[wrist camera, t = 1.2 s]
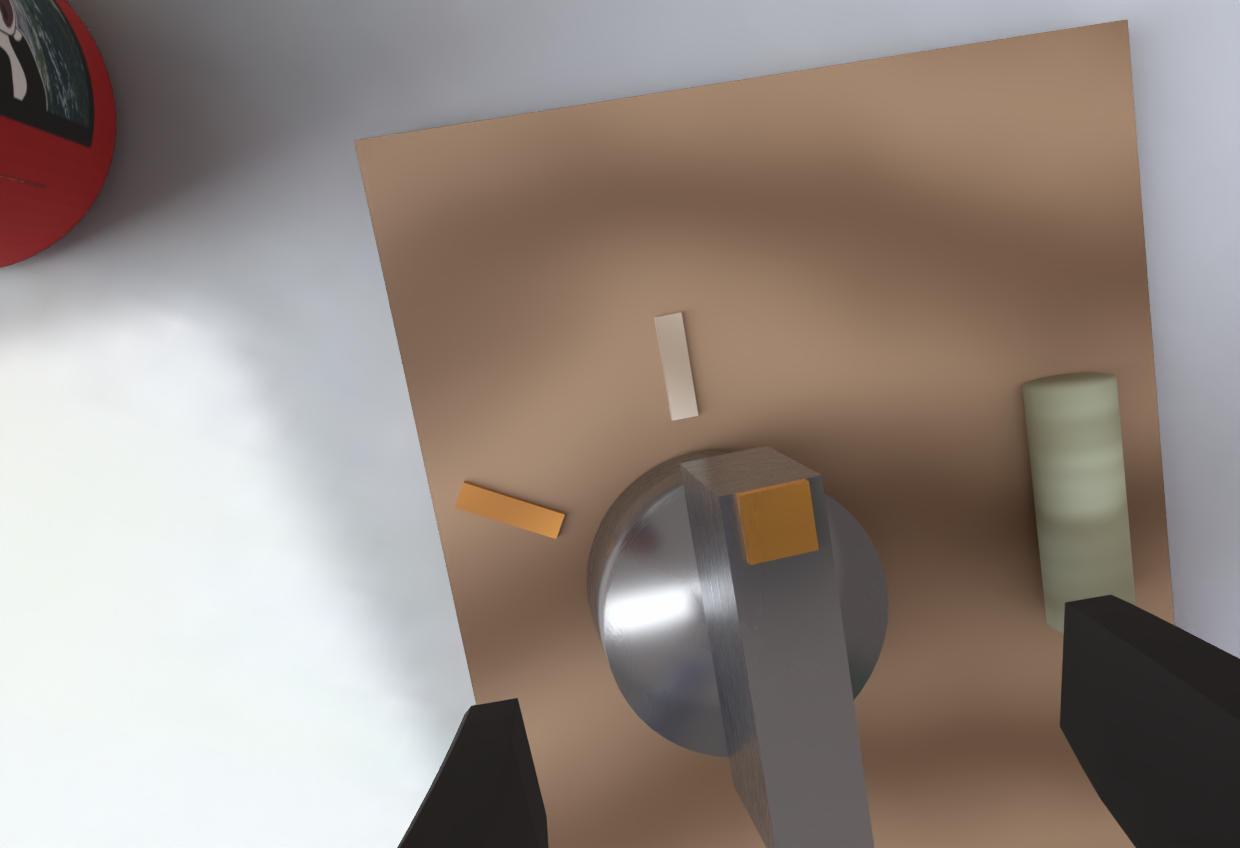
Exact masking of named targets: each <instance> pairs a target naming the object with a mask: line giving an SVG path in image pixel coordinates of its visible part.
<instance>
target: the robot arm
mask: <svg viewBox="0 0 1240 848" xmlns="http://www.w3.org/2000/svg"><path fill="white" fill-rule="evenodd" d="M1060 728H1061V730H1062V731H1063V733H1064V735H1065V737H1066V739H1067V741H1068V743H1069V744H1070V746H1071V748H1072V750H1073V752H1074V754H1075V755H1076V757H1077V759H1078V761H1079V763H1080V765H1081V767H1082V768H1083V770H1084V772H1085V773H1086V775H1087V777H1088V779H1089V780H1090V782H1091V784H1092V786H1093V787H1094V789H1095V791H1096V792H1097V794H1098V796H1099V798H1100V799H1101V800H1102V802H1103V803H1104V805H1105V806H1106V807H1107V809H1108V810H1109V812H1110V813H1111V814H1112V816H1113V817H1114V819H1115V820H1116V821H1117V823H1118V824H1119V825H1120V827H1121V828H1122V830H1123V831H1124V832H1125V834H1126V835H1127V836H1128V838H1129V839H1130V841H1131V842H1132V843H1133V845H1134V846H1135V847H1136V848H1240V659H1239V658H1237V657H1235V656H1233V655H1231V654H1229V653H1227V652H1225V651H1223V650H1221V649H1219V648H1217V647H1215V646H1213V645H1211V644H1209V643H1207V642H1206V641H1204V640H1202V639H1200V638H1198V637H1196V636H1194V635H1192V634H1190V633H1188V632H1186V631H1184V630H1182V629H1180V628H1178V627H1176V626H1175V625H1173V624H1171V623H1169V622H1167V621H1165V620H1163V619H1161V618H1159V617H1157V616H1155V615H1153V614H1151V613H1149V612H1147V611H1145V610H1143V609H1141V608H1139V607H1137V606H1135V605H1133V604H1131V603H1129V602H1127V601H1124V600H1122V599H1120V598H1118V597H1116V596H1113V595H1105V596H1099V597H1094V598H1088V599H1082V600H1076V601H1071V602H1065V612H1064V636H1063V660H1062V684H1061V707H1060ZM397 848H549V846H548V829H547V815H546V811H545V807H544V803H543V799H542V795H541V791H540V787H539V783H538V779H537V775H536V770H535V766H534V762H533V758H532V754H531V750H530V746H529V742H528V738H527V734H526V730H525V725H524V721H523V717H522V713H521V709H520V705H519V701H518V698H514V699H508V700H502V701H497V702H491V703H485V704H479V705H474V706H471V707H470V708H469V710H468V711H467V712H466V713H465V715H464V717H463V719H462V722H461V724H460V726H459V728H458V731H457V733H456V735H455V737H454V740H453V742H452V744H451V746H450V748H449V750H448V752H447V755H446V757H445V759H444V761H443V763H442V765H441V767H440V769H439V771H438V773H437V775H436V777H435V779H434V781H433V783H432V785H431V787H430V789H429V791H428V793H427V795H426V796H425V798H424V800H423V802H422V804H421V806H420V808H419V809H418V811H417V813H416V815H415V817H414V819H413V820H412V822H411V824H410V826H409V828H408V830H407V832H406V833H405V835H404V837H403V839H402V840H401V842H400V844H399V846H398V847H397Z"/></svg>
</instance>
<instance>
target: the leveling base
mask: <svg viewBox="0 0 1240 848" xmlns="http://www.w3.org/2000/svg"><path fill="white" fill-rule="evenodd" d="M354 142H355V146H356V151H357V156H358V160H359V165H360V170H361V174H362V179H363V183H364V188H365V193H366V197H367V202H368V207H369V211H370V216H371V220H372V225H373V230H374V234H375V239H376V243H377V248H378V253H379V257H380V262H381V267H382V271H383V276H384V280H385V285H386V290H387V294H388V299H389V304H390V308H391V313H392V317H393V322H394V327H395V331H396V336H397V341H398V345H399V350H400V354H401V359H402V364H403V368H404V373H405V378H406V382H407V387H408V391H409V396H410V401H411V405H412V410H413V415H414V419H415V424H416V428H417V433H418V438H419V442H420V447H421V451H422V456H423V461H424V465H425V470H426V475H427V479H428V484H429V488H430V493H431V498H432V502H433V507H434V512H435V516H436V521H437V525H438V530H439V535H440V539H441V544H442V549H443V553H444V558H445V562H446V567H447V572H448V576H449V581H450V586H451V590H452V595H453V599H454V604H455V609H456V613H457V618H458V623H459V627H460V632H461V636H462V641H463V646H464V650H465V655H466V659H467V664H468V669H469V673H470V678H471V683H472V687H473V692H474V696H475V701H476V705H479V704H485V703H491V702H497V701H502V700H508V699H514V698H518V701H519V705H520V709H521V713H522V717H523V721H524V725H525V730H526V734H527V738H528V742H529V746H530V750H531V754H532V758H533V762H534V766H535V770H536V775H537V779H538V783H539V787H540V791H541V795H542V799H543V803H544V807H545V811H546V815H547V829H548V846H549V848H766V846H765V844H764V842H763V840H762V838H761V837H760V835H759V833H758V831H757V829H756V827H755V825H754V823H753V821H752V819H751V818H750V816H749V814H748V812H747V810H746V808H745V806H744V804H743V802H742V800H741V799H740V797H739V795H738V793H737V791H736V789H735V787H734V784H733V779H732V773H731V767H730V761H729V758H728V757H716V756H711V755H706V754H701V753H697V752H694V751H691V750H689V749H686V748H683V747H681V746H679V745H677V744H675V743H673V742H671V741H669V740H667V739H665V738H664V737H662V736H661V735H660V734H658V733H657V732H655V731H654V730H652V729H651V728H650V727H649V726H648V725H647V724H646V723H645V722H644V721H643V720H642V719H640V718H639V717H638V715H637V714H636V713H635V712H634V710H633V709H632V708H631V707H630V705H629V704H628V703H627V701H626V700H625V698H624V696H623V695H622V693H621V691H620V690H619V688H618V686H617V683H616V681H615V678H614V676H613V674H612V671H611V669H610V666H609V663H608V660H607V658H606V655H605V652H604V649H603V647H602V644H601V641H600V638H599V636H598V633H597V630H596V627H595V625H594V622H593V619H592V615H591V612H590V608H589V604H588V596H587V588H586V581H587V565H588V559H589V553H590V550H591V546H592V543H593V539H594V537H595V534H596V532H597V530H598V527H599V525H600V523H601V521H602V519H603V518H604V516H605V514H606V513H607V511H608V509H609V508H610V507H611V505H612V504H613V503H614V501H615V500H616V499H617V498H618V496H619V495H620V494H621V493H622V492H623V491H624V490H625V489H626V488H627V487H628V486H629V485H630V484H631V483H632V482H634V481H635V480H636V479H637V478H639V477H640V476H641V475H643V474H644V473H645V472H647V471H649V470H650V469H652V468H654V467H656V466H657V465H659V464H661V463H663V462H666V461H668V460H670V459H673V458H675V457H678V456H682V455H685V454H689V453H693V452H700V451H707V450H728V451H736V452H738V451H742V450H747V449H752V448H757V447H762V446H766V445H767V446H769V447H771V448H772V449H774V450H776V451H778V452H780V453H782V454H783V455H785V456H787V457H789V458H791V459H793V460H795V461H796V462H798V463H800V464H802V465H804V466H806V467H808V468H809V469H811V470H813V471H815V472H817V473H819V474H821V475H822V481H823V488H824V493H825V494H826V495H828V496H830V497H831V498H833V499H834V500H836V501H837V502H838V503H839V504H841V505H842V506H843V507H844V508H846V509H847V510H848V511H849V512H850V513H851V514H852V515H853V516H854V517H855V519H856V520H857V521H858V522H859V523H860V524H861V526H862V527H863V528H864V530H865V531H866V533H867V534H868V536H869V537H870V539H871V541H872V543H873V545H874V547H875V548H876V550H877V552H878V555H879V558H880V561H881V563H882V566H883V569H884V573H885V578H886V583H887V589H888V604H889V607H888V623H887V629H886V634H885V639H884V643H883V646H882V649H881V653H880V656H879V659H878V661H877V663H876V665H875V667H874V670H873V672H872V674H871V676H870V678H869V679H868V681H867V682H866V684H865V686H864V687H863V689H862V691H861V692H860V693H859V695H858V696H857V697H856V698H855V700H854V706H855V713H856V720H857V728H858V735H859V742H860V749H861V756H862V763H863V770H864V777H865V784H866V791H867V798H868V805H869V812H870V819H871V826H872V833H873V840H874V847H875V848H1136V847H1135V846H1134V845H1133V843H1132V842H1131V841H1130V839H1129V838H1128V836H1127V835H1126V834H1125V832H1124V831H1123V830H1122V828H1121V827H1120V825H1119V824H1118V823H1117V821H1116V820H1115V819H1114V817H1113V816H1112V814H1111V813H1110V812H1109V810H1108V809H1107V807H1106V806H1105V805H1104V803H1103V802H1102V800H1101V799H1100V798H1099V796H1098V794H1097V792H1096V791H1095V789H1094V787H1093V786H1092V784H1091V782H1090V780H1089V779H1088V777H1087V775H1086V773H1085V772H1084V770H1083V768H1082V767H1081V765H1080V763H1079V761H1078V759H1077V757H1076V755H1075V754H1074V752H1073V750H1072V748H1071V746H1070V744H1069V743H1068V741H1067V739H1066V737H1065V735H1064V733H1063V731H1062V730H1061V728H1060V707H1061V684H1062V660H1063V636H1064V612H1065V602H1071V601H1076V600H1082V599H1088V598H1094V597H1099V596H1105V595H1113V596H1116V597H1118V598H1120V599H1122V600H1124V601H1127V602H1129V603H1131V604H1133V605H1135V606H1137V607H1139V608H1141V609H1143V610H1145V611H1147V612H1149V613H1151V614H1153V615H1155V616H1157V617H1159V618H1161V619H1163V620H1165V621H1167V622H1169V623H1171V624H1173V625H1174V612H1173V599H1172V586H1171V573H1170V561H1169V548H1168V535H1167V522H1166V509H1165V496H1164V484H1163V471H1162V458H1161V445H1160V432H1159V419H1158V406H1157V394H1156V381H1155V368H1154V355H1153V342H1152V329H1151V316H1150V304H1149V291H1148V278H1147V265H1146V252H1145V239H1144V226H1143V214H1142V201H1141V188H1140V175H1139V162H1138V149H1137V136H1136V124H1135V111H1134V98H1133V85H1132V72H1131V59H1130V47H1129V34H1128V21H1127V20H1122V21H1115V22H1109V23H1102V24H1096V25H1090V26H1083V27H1077V28H1070V29H1064V30H1058V31H1051V32H1045V33H1038V34H1032V35H1025V36H1019V37H1013V38H1006V39H1000V40H993V41H987V42H981V43H974V44H968V45H961V46H955V47H949V48H942V49H936V50H929V51H923V52H917V53H910V54H904V55H897V56H891V57H885V58H878V59H872V60H865V61H859V62H853V63H846V64H840V65H833V66H827V67H821V68H814V69H808V70H801V71H795V72H789V73H782V74H776V75H769V76H763V77H757V78H750V79H744V80H737V81H731V82H725V83H718V84H712V85H705V86H699V87H693V88H686V89H680V90H673V91H667V92H661V93H654V94H648V95H641V96H635V97H628V98H622V99H616V100H609V101H603V102H596V103H590V104H584V105H577V106H571V107H564V108H558V109H552V110H545V111H539V112H532V113H526V114H520V115H513V116H507V117H500V118H494V119H488V120H481V121H475V122H468V123H462V124H456V125H449V126H443V127H436V128H430V129H424V130H417V131H411V132H404V133H398V134H392V135H385V136H379V137H372V138H366V139H360V140H354Z"/></svg>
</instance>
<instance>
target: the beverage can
mask: <svg viewBox="0 0 1240 848" xmlns="http://www.w3.org/2000/svg"><path fill="white" fill-rule="evenodd" d="M115 135H116V114H115V103H114V97H113V91H112V87H111V83H110V79H109V75H108V72H107V69H106V67H105V64H104V61H103V59H102V56H101V54H100V52H99V50H98V47H97V45H96V44H95V42H94V40H93V38H92V36H91V35H90V33H89V31H88V30H87V28H86V27H85V25H84V24H83V22H82V21H81V19H80V18H79V17H78V15H77V14H76V13H75V11H74V10H73V9H72V8H71V6H70V5H69V4H68V3H67V2H66V1H65V0H0V268H1V267H5V266H9V265H12V264H14V263H17V262H20V261H23V260H25V259H27V258H29V257H32V256H34V255H36V254H38V253H39V252H41V251H43V250H45V249H46V248H48V247H50V246H51V245H52V244H54V243H55V242H57V241H58V240H60V239H61V238H62V237H63V236H64V235H65V234H67V233H68V232H69V231H70V230H71V229H72V228H73V227H74V226H75V225H76V224H77V223H78V222H79V221H80V220H81V219H82V217H83V216H84V215H85V214H86V212H87V211H88V210H89V208H90V207H91V205H92V204H93V202H94V201H95V199H96V198H97V196H98V194H99V192H100V190H101V188H102V186H103V184H104V181H105V179H106V176H107V174H108V171H109V167H110V164H111V161H112V156H113V151H114V145H115Z"/></svg>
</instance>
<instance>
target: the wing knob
mask: <svg viewBox="0 0 1240 848" xmlns="http://www.w3.org/2000/svg"><path fill="white" fill-rule="evenodd" d="M586 588H587V596H588V604H589V608H590V612H591V615H592V619H593V622H594V625H595V627H596V630H597V633H598V636H599V638H600V641H601V644H602V647H603V649H604V652H605V655H606V658H607V660H608V663H609V666H610V669H611V671H612V674H613V676H614V678H615V681H616V683H617V686H618V688H619V690H620V691H621V693H622V695H623V696H624V698H625V700H626V701H627V703H628V704H629V705H630V707H631V708H632V709H633V710H634V712H635V713H636V714H637V715H638V717H639V718H640V719H642V720H643V721H644V722H645V723H646V724H647V725H648V726H649V727H650V728H651V729H652V730H654V731H655V732H657V733H658V734H660V735H661V736H662V737H664V738H665V739H667V740H669V741H671V742H673V743H675V744H677V745H679V746H681V747H683V748H686V749H689V750H691V751H694V752H697V753H701V754H706V755H711V756H716V757H728V758H729V761H730V767H731V773H732V779H733V784H734V787H735V789H736V791H737V793H738V795H739V797H740V799H741V800H742V802H743V804H744V806H745V808H746V810H747V812H748V814H749V816H750V818H751V819H752V821H753V823H754V825H755V827H756V829H757V831H758V833H759V835H760V837H761V838H762V840H763V842H764V844H765V846H766V848H875V847H874V840H873V833H872V826H871V819H870V812H869V805H868V798H867V791H866V784H865V777H864V770H863V763H862V756H861V749H860V742H859V735H858V728H857V720H856V713H855V706H854V700H855V698H856V697H857V696H858V695H859V693H860V692H861V691H862V689H863V687H864V686H865V684H866V682H867V681H868V679H869V678H870V676H871V674H872V672H873V670H874V667H875V665H876V663H877V661H878V659H879V656H880V653H881V649H882V646H883V643H884V639H885V634H886V629H887V623H888V607H889V604H888V589H887V583H886V578H885V573H884V569H883V566H882V563H881V561H880V558H879V555H878V552H877V550H876V548H875V547H874V545H873V543H872V541H871V539H870V537H869V536H868V534H867V533H866V531H865V530H864V528H863V527H862V526H861V524H860V523H859V522H858V521H857V520H856V519H855V517H854V516H853V515H852V514H851V513H850V512H849V511H848V510H847V509H846V508H844V507H843V506H842V505H841V504H839V503H838V502H837V501H836V500H834V499H833V498H831V497H830V496H828V495H826V494H825V493H824V488H823V481H822V475H821V474H819V473H817V472H815V471H813V470H811V469H809V468H808V467H806V466H804V465H802V464H800V463H798V462H796V461H795V460H793V459H791V458H789V457H787V456H785V455H783V454H782V453H780V452H778V451H776V450H774V449H772V448H771V447H769V446H767V445H766V446H762V447H757V448H752V449H747V450H742V451H738V452H736V451H728V450H707V451H700V452H693V453H689V454H685V455H682V456H678V457H675V458H673V459H670V460H668V461H666V462H663V463H661V464H659V465H657V466H656V467H654V468H652V469H650V470H649V471H647V472H645V473H644V474H643V475H641V476H640V477H639V478H637V479H636V480H635V481H634V482H632V483H631V484H630V485H629V486H628V487H627V488H626V489H625V490H624V491H623V492H622V493H621V494H620V495H619V496H618V498H617V499H616V500H615V501H614V503H613V504H612V505H611V507H610V508H609V509H608V511H607V513H606V514H605V516H604V518H603V519H602V521H601V523H600V525H599V527H598V530H597V532H596V534H595V537H594V539H593V543H592V546H591V550H590V553H589V559H588V565H587V581H586Z"/></svg>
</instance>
